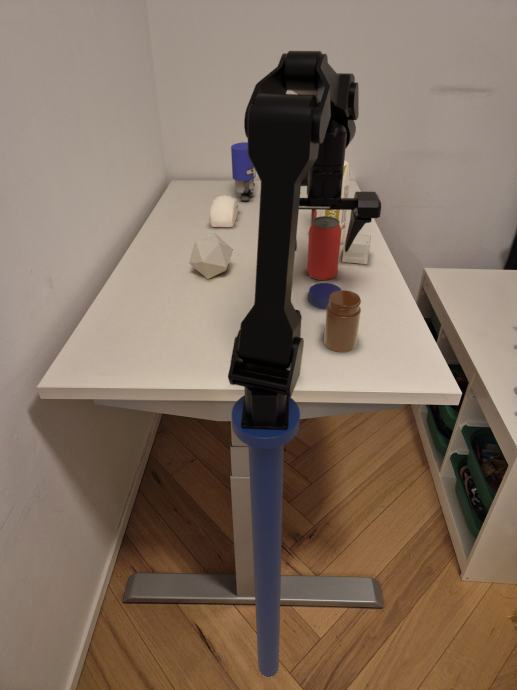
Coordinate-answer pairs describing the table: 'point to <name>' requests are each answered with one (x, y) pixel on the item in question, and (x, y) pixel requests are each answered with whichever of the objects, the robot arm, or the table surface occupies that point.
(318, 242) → the beer can
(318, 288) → the lid
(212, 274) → the die
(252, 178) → the toy
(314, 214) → the juice carton
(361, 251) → the small box
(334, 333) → the jar
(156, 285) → the table surface
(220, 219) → the computer mouse
